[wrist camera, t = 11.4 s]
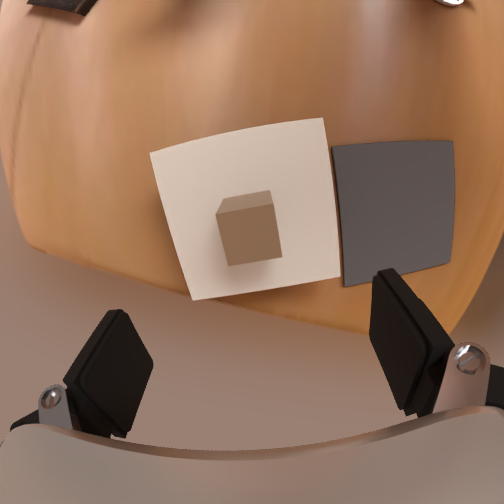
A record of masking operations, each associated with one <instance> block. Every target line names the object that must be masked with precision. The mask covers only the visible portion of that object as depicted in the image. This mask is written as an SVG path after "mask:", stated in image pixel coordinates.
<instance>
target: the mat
mask: <svg viewBox="0 0 504 504" xmlns="http://www.w3.org/2000/svg"><path fill="white" fill-rule="evenodd" d="M331 149H332V155H333V162H334V170H335V177H336V186H337V194H338V204H339V214H340V225H341V239H342V254H343V275H344V286H345V287H347V286H352V285H357V284H362V283H366V282H371V281H373V276H375V275H377V272H378V271H379V270H384V269H389V268H394V269H395V270H396V272H397V273H398V274H399V275H402V274H406V273H410V272H414V271H418V270H422V269H426V268H430V267H434V266H438V265H442V264H445V263H449V262H450V257H451V249H452V239H453V227H454V209H455V167H454V149H453V141H398V142H380V143H366V144H354V145H343V146H334V147H331Z"/></svg>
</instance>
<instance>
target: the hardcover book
mask: <svg viewBox="0 0 504 504" xmlns="http://www.w3.org/2000/svg"><path fill="white" fill-rule="evenodd" d="M96 1H97V0H28V2H27V3H26V4H31V5H38V6H45V7H50V8H56V9H61V10H65V11H70V12H74V13H78V14H81V15H83V16H86V14H87V13H88V12H89V10H90V9H91V8H92V6H93V5H94V4H95V3H96Z"/></svg>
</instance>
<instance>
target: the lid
mask: <svg viewBox="0 0 504 504" xmlns="http://www.w3.org/2000/svg"><path fill="white" fill-rule="evenodd" d="M150 157H151V162H152V166H153V170H154V174H155V178H156V182H157V186H158V189H159V193H160V197H161V201H162V204H163V208H164V211H165V215H166V219H167V222H168V225H169V229H170V232H171V236H172V239H173V242H174V245H175V249H176V252H177V255H178V258H179V261H180V264H181V267H182V270H183V274H184V277H185V280H186V282H187V285H188V288H189V291H190V294H191V297H192V300H201V299H208V298H215V297H222V296H229V295H235V294H242V293H249V292H255V291H261V290H267V289H273V288H279V287H285V286H291V285H297V284H303V283H308V282H314V281H319V280H325V279H330V278H335V277H340V258H339V242H338V229H337V218H336V208H335V198H334V189H333V181H332V173H331V166H330V159H329V152H328V145H327V139H326V133H325V127H324V122H323V118H314V119H305V120H297V121H289V122H282V123H276V124H269V125H263V126H258V127H252V128H247V129H241V130H236V131H232V132H227V133H222V134H218V135H213V136H209V137H205V138H201V139H197V140H193V141H189V142H185V143H182V144H178V145H174V146H171V147H168V148H164V149H161V150H157V151H154V152H151V153H150Z"/></svg>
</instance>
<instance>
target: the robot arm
mask: <svg viewBox="0 0 504 504" xmlns="http://www.w3.org/2000/svg"><path fill="white" fill-rule="evenodd" d="M436 1H438V2H440V3H442V4H445V5H448V6H456V5H459V4H461V3H462V2H463V1H464V0H436ZM369 336H370V341H371V343H372V345H373V348H374V350H375V352H376V354H377V357H378V359H379V361H380V364H381V366H382V369H383V371H384V373H385V376H386V378H387V381H388V383H389V386H390V388H391V391H392V393H393V396H394V398H395V400H396V403H397V406H398V408H399V409H400V410H402V409H403V410H404V412H405V415H406V416H409V415H411V414H414V413H416V414H417V416H418V418H417V419H413V420H410V421H407V422H403V423H400V424H397V425H394V426H390V427H387V428H383V429H380V430H376V431H373V432H368V433H364V434H360V435H356V436H351V437H347V438H343V439H338V440H332V441H327V442H322V443H315V444H309V445H302V446H294V447H285V448H274V449H261V450H240V451H239V450H238V451H213V450H211V451H209V450H188V449H176V448H165V447H157V446H150V445H142V444H136V443H130V442H124V441H119V440H114V439H111V438H110V436H111V433H112V434H113V435H114V436H115V437H120V438H126V435H127V432H129V431H130V430H131V428H132V425H133V422H134V419H135V416H136V413H137V410H138V407H139V405H140V401H141V399H142V396H143V393H144V391H145V388H146V385H147V382H148V380H149V377H150V374H151V372H152V369H153V360H152V358H151V356H150V355H149V353H148V351H147V349H146V348H145V346H144V344H143V342H142V340H141V339H140V337H139V335H138V333H137V331H136V329H135V327H134V325H133V323H132V322H131V320H130V317H129V315H128V314H127V313H125V312H124V311H123V310H121V309H118V310H109V311H108V312H107V313H106V315H105V316H104V317H103V319H102V320H101V321H100V323H99V324H98V326H97V327H96V329H95V331H94V332H93V333H92V335H91V336H90V338H89V339H88V341H87V342H86V344H85V345H84V347H83V349H82V350H81V351H80V353H79V354H78V356H77V358H76V359H75V361H74V363H73V364H72V366H71V367H70V369H69V371H68V372H67V374H66V375H65V377H64V379H63V382H64V383H65V384H66V385H67V389H64V387H63V386H62V385H59V384H55V385H52V386H50V387H48V388H46V389H45V390H44V391H43V392H42V394H41V395H40V398H39V401H38V410H36V411H34V412H32V413H31V414H29V415H27V416H25V417H23V418H21V419H20V420H18V421H16V422H14V423H13V424H12V425H11V428H10V433H9V434H8V436H7V437H6V439H5V440H4V441H3V442H2V443H1V444H0V504H504V368H503V367H499V366H495V365H492V364H490V357H489V354H488V352H487V351H486V350H485V349H484V348H483V347H482V346H480V345H479V344H476V343H473V342H464V343H460V344H458V345H456V346H455V344H454V343H453V341H452V340H451V339H450V337H449V336H448V334H447V333H446V332H445V330H444V329H443V327H442V326H441V325H440V323H439V322H438V321H437V319H436V318H435V317H434V315H433V314H432V313H431V311H430V310H429V309H428V307H427V306H426V305H425V304H424V302H423V301H422V300H421V299H419V298H418V297H417V296H416V295H415V293H414V292H413V291H412V290H411V288H410V287H409V286H408V285H407V284H406V282H405V281H404V280H403V279H402V278H401V276H400V275H399V274H398V273H397V272H396V270H395V269H394V268H389V269H384V270H379V271H378V272H377V275H375V276H373V281H372V303H371V317H370V329H369Z"/></svg>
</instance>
